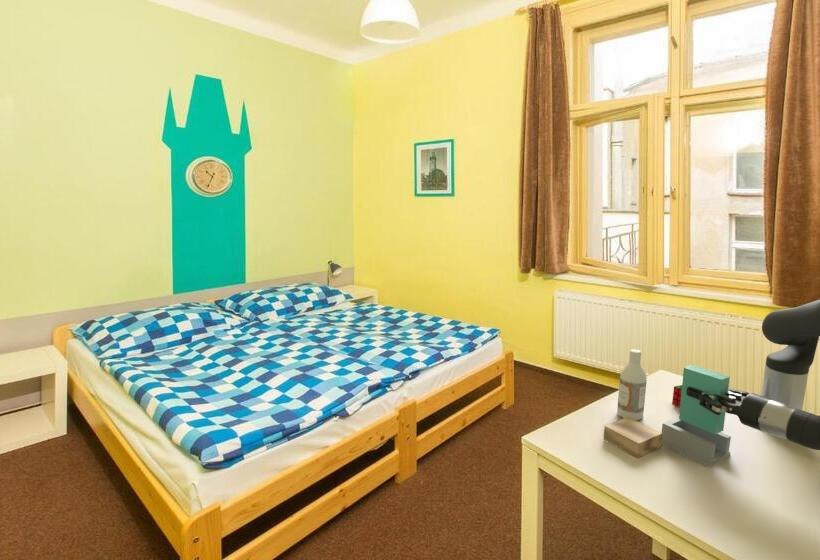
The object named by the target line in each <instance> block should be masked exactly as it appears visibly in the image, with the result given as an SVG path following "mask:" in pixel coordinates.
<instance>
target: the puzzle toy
mask: <svg viewBox="0 0 820 560" xmlns="http://www.w3.org/2000/svg"><path fill="white" fill-rule="evenodd" d="M681 392H682V384H681V385H674V386H673V392H672V401H671V403H672V404H673V405H674V406H677V407H679V408H680V402H681Z"/></svg>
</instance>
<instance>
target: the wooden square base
mask: <svg viewBox="0 0 820 560" xmlns="http://www.w3.org/2000/svg"><path fill="white" fill-rule="evenodd" d="M603 430H604V432H603V440H604V441H605V440H606V441H605V442H607V441H608V442H607V443H608V444H610V445H612V444H613V446H614V445H615V446H614V447H616V446H617V447H616V448H618V449H620V450H622V451H623V452H625V453H626V454H629V455H631V456H632V457H635V458H637V459H639V458H641V457H642V456H645V455H647V454H650V453H652V452H653V451H656V450H658V449H660V448H662V445H661V441H662V431H661V432H660V431H659V430H656V429H655V428H651V427H650V426H648V425H646V424H644V423H642V422H641V421H640V422H639V421H638V420H633V419H631V418H629V417H626V418H622V419H619V420H616V421H614V422H611V423H609V424H606V425H604V429H603Z"/></svg>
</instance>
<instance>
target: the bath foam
mask: <svg viewBox="0 0 820 560" xmlns="http://www.w3.org/2000/svg"><path fill="white" fill-rule="evenodd" d="M628 357H629V359H628V360H629V361H628V362H627V363H626V364H625V365H624V367H623V368H622V370H621V371H620V376H619V383H618V384H619V386H618V387H619V388H618V397H617V407H616V408H617V412H616V413H617V415H618V416H619V417H620V418H622V419H624V418H626V417H629V418H631V419H633V420H635V421H639V420H642V419H643V418H644V411H645V403H646V401H645V400H646V390H647V381H648V380H647V379H648V378H647V374H646V371H645V369H644V367H643V366H642V363H641V360H642V359H641V358H642V351H641V350H639V349H633V348H632V349H629V356H628Z"/></svg>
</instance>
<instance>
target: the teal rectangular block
mask: <svg viewBox="0 0 820 560" xmlns="http://www.w3.org/2000/svg"><path fill="white" fill-rule="evenodd" d="M730 378H731V377H730V376H728V375H726V374H722V373H720V372H717V371H712V370H709V369H707V368H706V369H705V368H703V367H700V366H696V365H693V364H690V365H687V366H684V367H683V373H682V383H681V385H682V392H681V402H680V407H679V413H678V414H679V415H678V417H679V419H680V420H682V421H684V422H687V423H689V424H692V425H694V426H696V427H699V428H701V429H704V430H706V431H708V432H711V433H713V434H717V433H719V432H724V426H725V419H726V412H725V411H724V412H721V415H716V414H714V413H712V412H711V411H709V410H707V409H706V408H704V407H702V406H701V405H699V402H700V400H698V399H696V398H693V397H690V396H688V395H687V394H686V391H687V388H688V387H692V388H695V389H698V390H701V391H703V392H707V393H710V394H714V393H716V394H719V395H721V394H722V395H728V394H727V392H728V388H730V387H729V386H730ZM709 398H711V397H709ZM711 399H712V398H711ZM718 399H719V398H718V397H717V400H716V402H718Z"/></svg>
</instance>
